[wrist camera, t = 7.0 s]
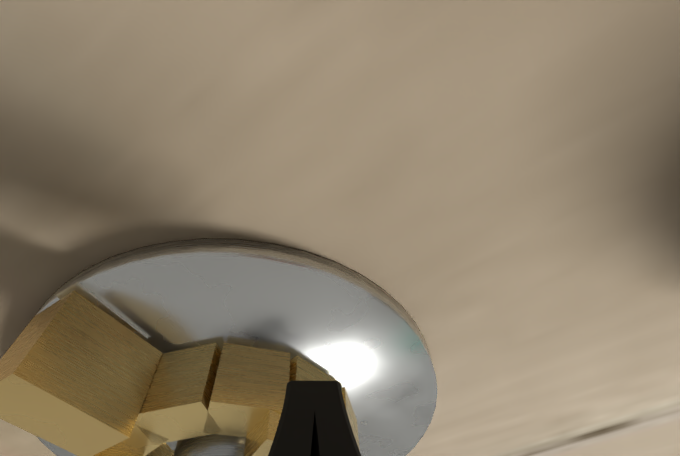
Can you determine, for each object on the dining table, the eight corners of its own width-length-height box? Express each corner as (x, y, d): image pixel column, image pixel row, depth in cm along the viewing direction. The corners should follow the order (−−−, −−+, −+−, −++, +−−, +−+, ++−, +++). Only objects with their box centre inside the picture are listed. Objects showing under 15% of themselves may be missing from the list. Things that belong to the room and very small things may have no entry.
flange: (451, 455, 23) (481, 560, 19) (159, 511, 25) (129, 618, 21) (391, 181, 13) (426, 276, 9) (-85, 306, 15) (-231, 433, 11)
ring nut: (292, 241, 13) (285, 323, 10) (372, 463, 20) (382, 545, 17) (-12, 309, 13) (-99, 402, 11) (176, 497, 21) (155, 581, 18)
